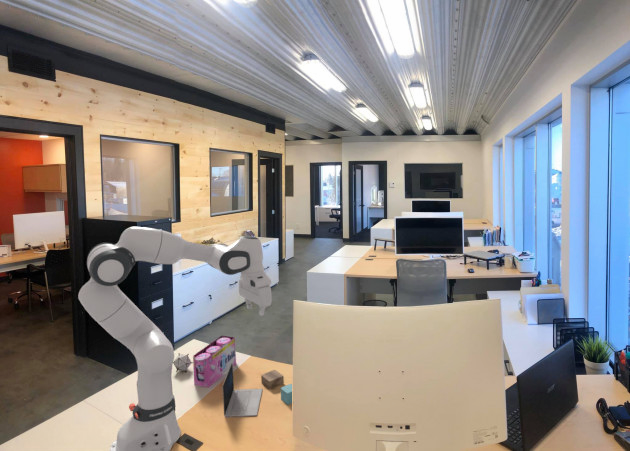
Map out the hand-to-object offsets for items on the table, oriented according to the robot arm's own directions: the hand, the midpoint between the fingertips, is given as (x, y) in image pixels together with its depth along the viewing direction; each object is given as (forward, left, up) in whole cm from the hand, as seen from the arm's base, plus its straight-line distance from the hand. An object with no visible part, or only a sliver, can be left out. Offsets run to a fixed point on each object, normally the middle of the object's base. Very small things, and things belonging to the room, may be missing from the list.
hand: (255, 311), depth 149 cm
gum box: (-5, +33, -38) cm, 51 cm away
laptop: (-5, +4, -38) cm, 39 cm away
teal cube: (+10, -6, -38) cm, 40 cm away
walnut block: (+11, +9, -38) cm, 41 cm away
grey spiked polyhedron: (-16, +46, -38) cm, 62 cm away
